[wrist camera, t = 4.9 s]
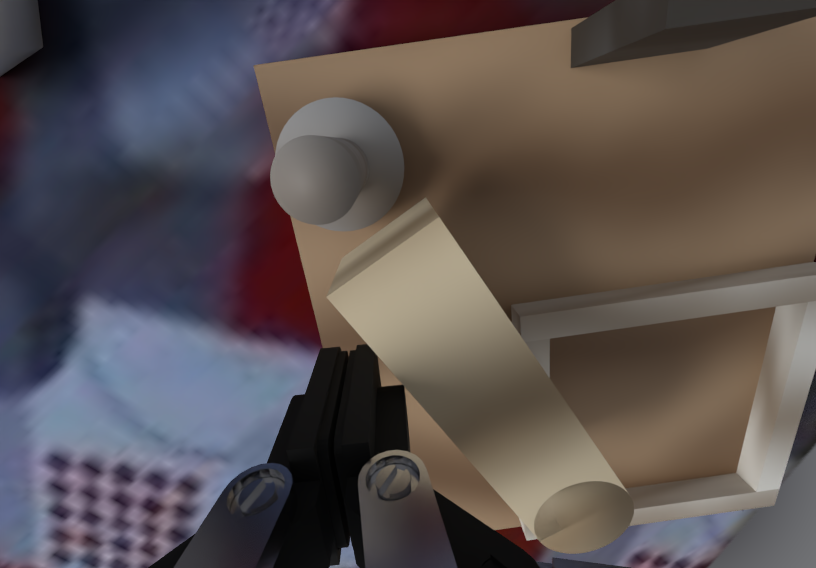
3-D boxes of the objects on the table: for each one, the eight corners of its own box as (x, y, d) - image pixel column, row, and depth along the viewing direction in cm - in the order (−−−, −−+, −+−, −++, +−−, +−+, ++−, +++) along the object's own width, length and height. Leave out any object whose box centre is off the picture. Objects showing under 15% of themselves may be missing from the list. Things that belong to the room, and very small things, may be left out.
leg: (342, 257, 11) (326, 297, 8) (425, 197, 11) (439, 217, 8) (528, 485, 15) (562, 566, 12) (597, 448, 14) (649, 524, 11)
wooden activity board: (269, 74, 12) (145, 3, 6) (830, -6, 12) (1295, -162, 6) (373, 517, 19) (365, 693, 13) (724, 467, 19) (883, 620, 13)
